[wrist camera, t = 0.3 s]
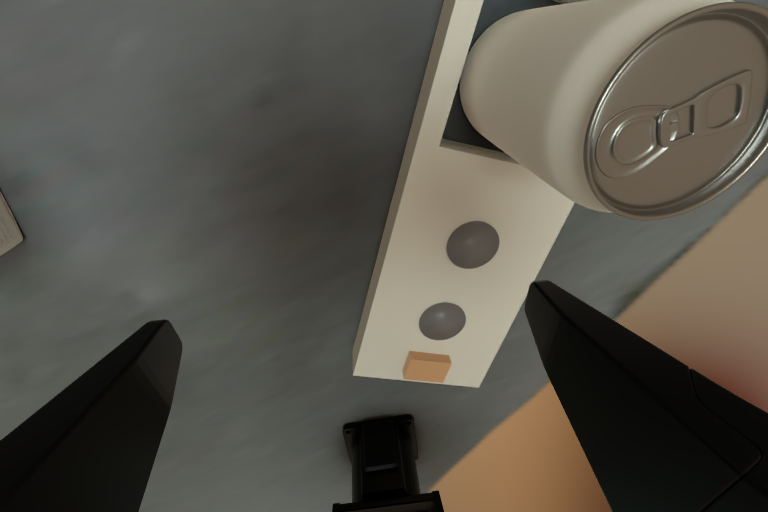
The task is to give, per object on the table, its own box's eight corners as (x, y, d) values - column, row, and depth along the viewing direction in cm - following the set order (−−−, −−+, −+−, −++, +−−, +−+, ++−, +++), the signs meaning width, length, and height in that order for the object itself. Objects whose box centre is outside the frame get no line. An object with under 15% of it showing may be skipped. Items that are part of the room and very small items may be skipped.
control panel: (469, 363, 31) (482, 396, 28) (352, 350, 29) (353, 384, 27) (644, -1, 19) (696, -8, 16) (460, -64, 17) (483, -84, 14)
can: (442, 43, 19) (552, 53, 9) (565, -14, 18) (846, -78, 8) (474, 158, 22) (583, 263, 12) (581, 113, 22) (795, 184, 11)
